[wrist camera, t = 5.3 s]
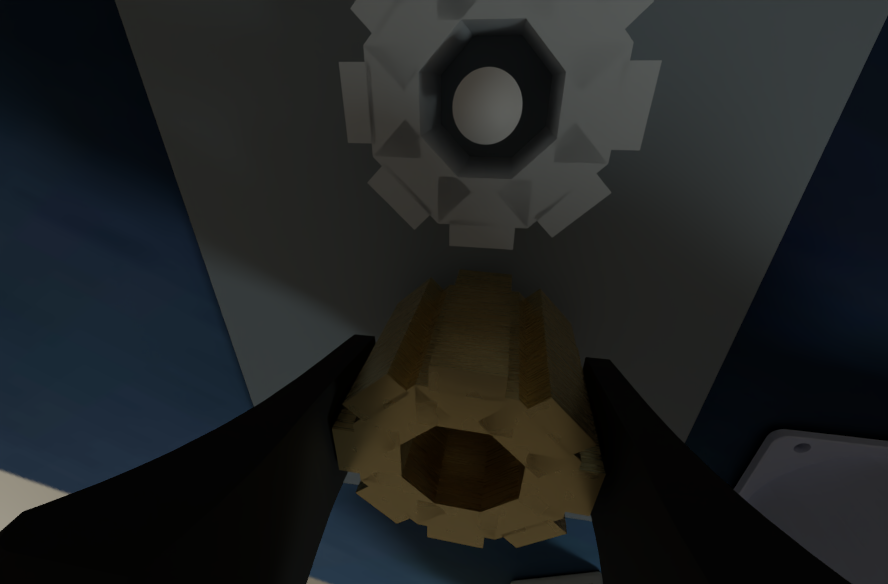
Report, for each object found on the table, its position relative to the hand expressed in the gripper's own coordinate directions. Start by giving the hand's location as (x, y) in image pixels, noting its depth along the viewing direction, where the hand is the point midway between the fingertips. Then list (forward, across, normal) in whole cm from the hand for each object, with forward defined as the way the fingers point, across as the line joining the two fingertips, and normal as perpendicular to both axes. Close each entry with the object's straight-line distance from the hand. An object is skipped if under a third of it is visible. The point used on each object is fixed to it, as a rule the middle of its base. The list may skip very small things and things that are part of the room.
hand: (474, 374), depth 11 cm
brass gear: (+1, 0, 0) cm, 1 cm away
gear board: (+4, +1, -2) cm, 4 cm away
